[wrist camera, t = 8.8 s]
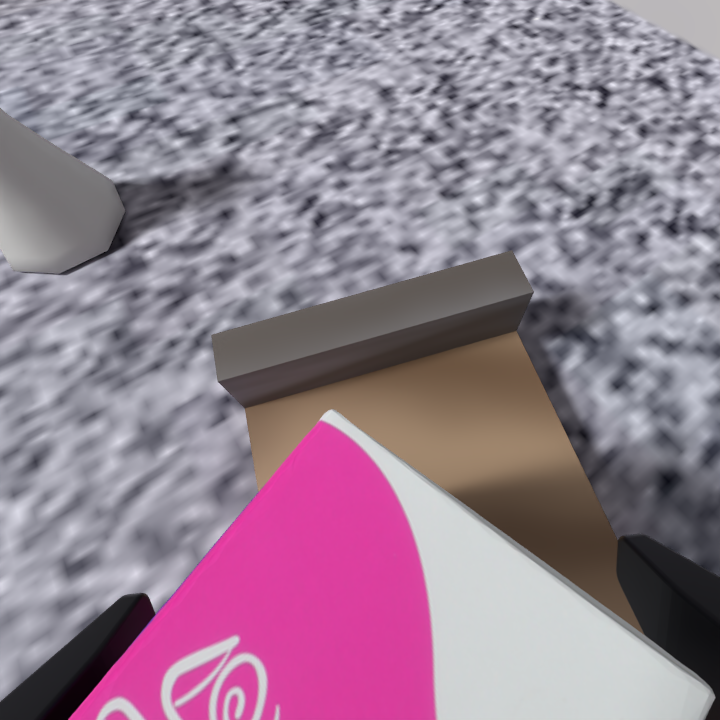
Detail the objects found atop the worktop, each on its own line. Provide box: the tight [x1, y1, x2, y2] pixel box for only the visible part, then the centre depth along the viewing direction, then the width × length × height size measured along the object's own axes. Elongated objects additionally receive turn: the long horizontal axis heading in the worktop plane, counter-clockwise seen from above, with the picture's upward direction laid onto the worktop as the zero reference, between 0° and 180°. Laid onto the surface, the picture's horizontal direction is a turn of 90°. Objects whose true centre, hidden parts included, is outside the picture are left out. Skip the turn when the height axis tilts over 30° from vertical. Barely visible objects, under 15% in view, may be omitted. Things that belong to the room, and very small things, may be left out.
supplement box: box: [68, 409, 715, 720], centre depth 10 cm, size 6×6×12 cm
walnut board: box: [211, 251, 644, 635], centre depth 15 cm, size 20×12×4 cm, turn 15°
